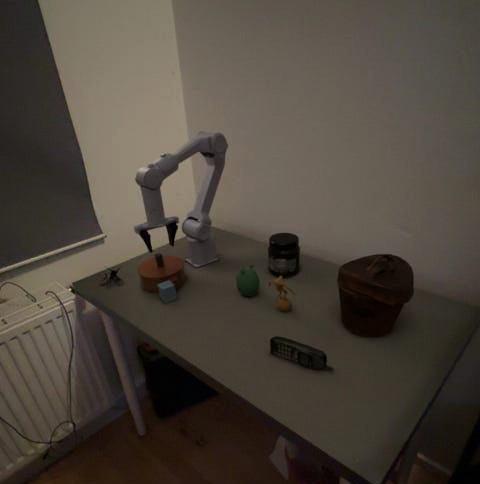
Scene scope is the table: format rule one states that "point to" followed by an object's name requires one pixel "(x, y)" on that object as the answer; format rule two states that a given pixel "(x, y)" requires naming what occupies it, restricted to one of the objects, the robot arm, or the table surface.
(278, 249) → the supplement container
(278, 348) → the mobile phone
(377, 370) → the table surface
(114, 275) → the creature
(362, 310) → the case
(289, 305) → the figurine
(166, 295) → the block
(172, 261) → the lid
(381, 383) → the table surface
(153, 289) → the pot
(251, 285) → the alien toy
